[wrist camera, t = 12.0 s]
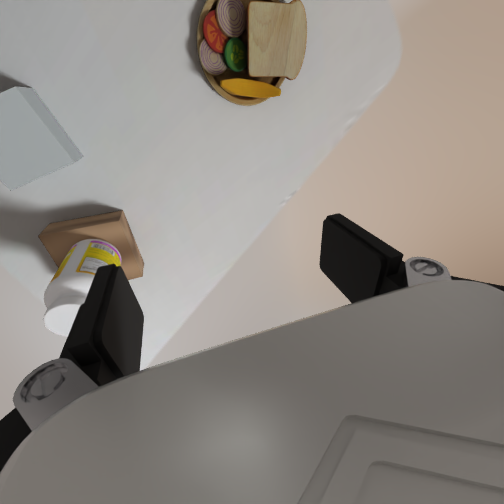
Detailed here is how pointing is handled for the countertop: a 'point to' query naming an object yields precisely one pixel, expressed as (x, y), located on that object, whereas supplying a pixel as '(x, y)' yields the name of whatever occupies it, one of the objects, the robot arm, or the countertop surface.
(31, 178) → the slate block
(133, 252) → the walnut block
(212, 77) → the toy sandwich meal
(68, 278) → the supplement bottle
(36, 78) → the countertop surface
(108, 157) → the countertop surface
